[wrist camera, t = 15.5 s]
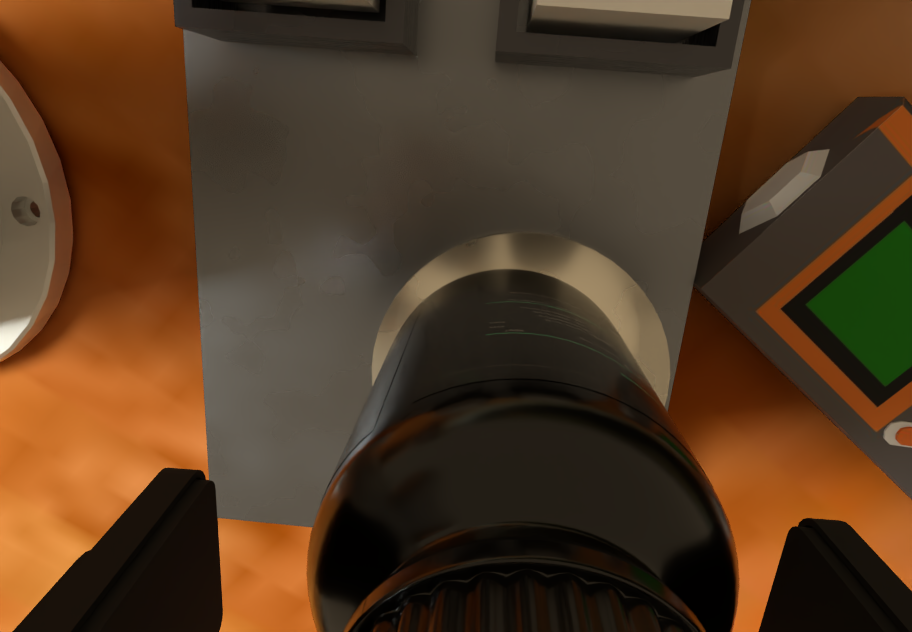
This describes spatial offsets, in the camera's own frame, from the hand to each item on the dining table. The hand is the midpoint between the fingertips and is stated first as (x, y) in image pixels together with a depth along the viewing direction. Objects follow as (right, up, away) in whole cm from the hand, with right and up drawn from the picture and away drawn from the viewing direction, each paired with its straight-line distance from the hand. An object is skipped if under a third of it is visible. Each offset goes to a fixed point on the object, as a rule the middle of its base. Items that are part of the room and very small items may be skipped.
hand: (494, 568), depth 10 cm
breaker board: (-1, +8, +8) cm, 12 cm away
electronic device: (+14, +3, +10) cm, 17 cm away
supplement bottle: (+1, +2, +8) cm, 8 cm away
